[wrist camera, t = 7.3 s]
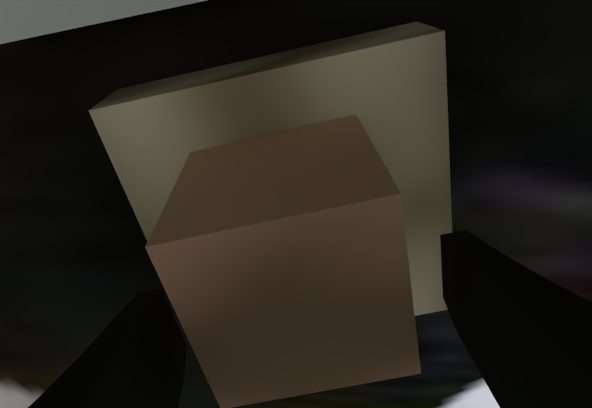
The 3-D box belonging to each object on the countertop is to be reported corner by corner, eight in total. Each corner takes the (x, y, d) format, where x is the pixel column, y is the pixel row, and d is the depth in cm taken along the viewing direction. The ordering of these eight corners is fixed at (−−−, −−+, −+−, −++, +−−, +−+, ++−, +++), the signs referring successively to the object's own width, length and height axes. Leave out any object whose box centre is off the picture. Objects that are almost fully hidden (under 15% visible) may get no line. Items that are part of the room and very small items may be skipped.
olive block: (412, 20, 14) (444, 30, 11) (429, 261, 19) (454, 307, 16) (121, 85, 15) (88, 111, 12) (208, 304, 19) (199, 356, 17)
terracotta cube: (356, 114, 12) (400, 193, 8) (377, 253, 15) (421, 373, 10) (190, 152, 13) (144, 247, 8) (237, 281, 15) (220, 409, 11)
